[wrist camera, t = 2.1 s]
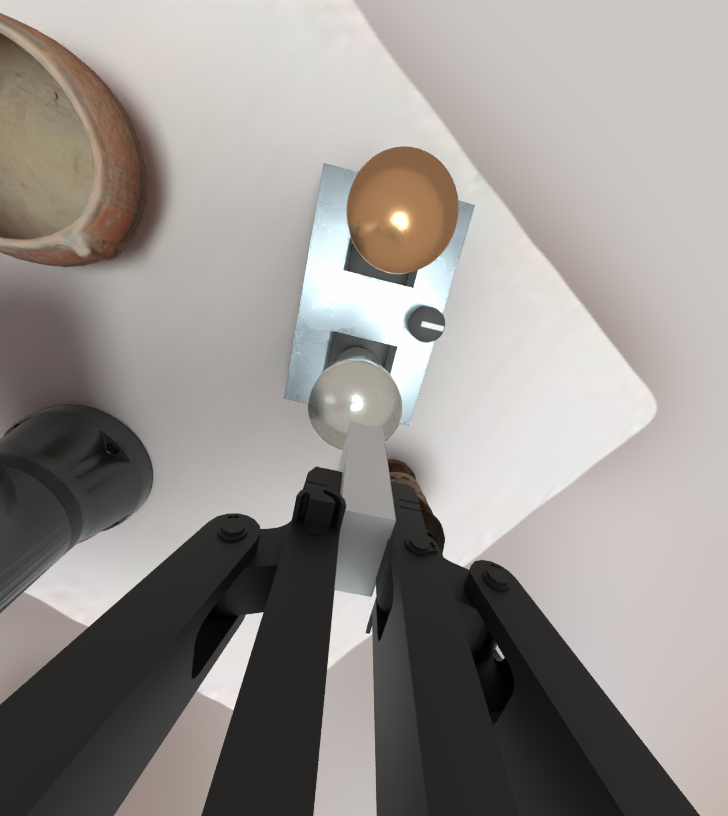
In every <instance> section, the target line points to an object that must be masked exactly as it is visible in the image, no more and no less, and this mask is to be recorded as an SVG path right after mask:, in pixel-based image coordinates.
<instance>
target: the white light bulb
mask: <svg viewBox="0 0 728 816" xmlns="http://www.w3.org/2000/svg"><path fill="white" fill-rule="evenodd" d="M308 411H309V417H310V420H311V423H312V425H313V427H314V429H315V430H316V432H317V433H318V434H319V436H320V437H321V438H322V439H323V440H325V441H326V442H327V443H329V444H330V445H332V446H334V447H336V448H339V449H342V450H343V449H344V445H345V441H346V436H347V432H348V428H349V424H350V421H353V422H357V423H362V424H366V425H371V426H376V427H380V428H383V433H384V440H385V441H386V440H387V439H389V438H390V436H391V435H392V434H393V433H394V431H395V430H396V428H397V427H398V425H399V422H400V419H401V415H402V399H401V395H400V392H399V389H398V387H397V384H396V382H395V380H394V379H393V377H392V376H391V375H390V374H389V373H388V371H386V370H385V369H384V368H383V367H381V365H380V362H379V360H378V358H377V357H376V356H375V355H374V354H373V353H372V352H371V351H369V350H367V349H364V348H360V347H354V348H349V349H347V350H345V351H343V352H342V353H340V354H339V355H338V357H337V358H336V360H335V362H334V364H333V365H331V366H329V367H328V368H327V369H325V370H324V371H323V372H322V373H321V375H320V376H319V377H318V379H317V380H316V382H315V384H314V386H313V388H312V390H311V393H310V397H309V402H308Z"/></svg>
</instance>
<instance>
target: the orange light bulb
mask: <svg viewBox="0 0 728 816" xmlns="http://www.w3.org/2000/svg"><path fill="white" fill-rule="evenodd" d="M458 212H459V207H458V195H457V191H456V187H455V184H454V182H453V179H452V177H451V176H450V174H449V172H448V171H447V169H446V168H445V166H444V165H443V164H442V163H441V162H440V161H439V160H438V159H437V158H435V157H434V156H433V155H431V154H429V153H428V152H426V151H423V150H421V149H418V148H413V147H395V148H391V149H388V150H385V151H383V152H381V153H379V154H377V155H376V156H374V157H373V158H372V159H370V160H369V161H368V162H367V163H366V164H365V165H364V166H363V167H362V169H361V170H360V171H359V173H358V174H357V176H356V178H355V180H354V181H353V184H352V186H351V189H350V192H349V196H348V201H347V223H348V228H349V233H350V236H351V239H352V242H353V244H354V246H355V248H356V249H357V251H358V253H359V254H360V255H361V256H362V258H363V259H364V260H365V261H366V262H368V263H369V264H370V265H372V266H373V267H374V268H376V269H378V270H380V271H383V272H386V273H391V274H406V273H410V272H414V271H417V270H419V269H422V268H424V267H426V266H427V265H429V264H431V263H432V262H433V261H435V260H436V259H437V258H438V257H439V256H440V255H441V254H442V253H443V251H444V250H445V249H446V247H447V246H448V244H449V243H450V241H451V239H452V237H453V234H454V231H455V228H456V225H457V220H458Z"/></svg>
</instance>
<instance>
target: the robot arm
mask: <svg viewBox="0 0 728 816" xmlns="http://www.w3.org/2000/svg"><path fill="white" fill-rule="evenodd" d="M151 486H152V468H151V463H150V460H149V457H148V455H147V453H146V451H145V449H144V447H143V446H142V444H141V443H140V441H139V440H138V439H137V437H136V436H135V435H134V434H133V433H132V432H131V431H130V430H129V429H128V428H127V427H126V426H124V425H123V424H122V423H121V422H119V421H118V420H116V419H115V418H113V417H111V416H109V415H107V414H105V413H103V412H101V411H98V410H96V409H92V408H89V407H85V406H78V405H59V406H54V407H50V408H47V409H44V410H42V411H39V412H36V413H34V414H31V415H29V416H27V417H25V418H23V419H21V420H20V421H18V422H17V423H15V424H14V425H13V426H12V427H11V428H10V429H9V430H8V431H7V432H6V433H5V435H4V436H3V438H1V439H0V613H1V612H2V611H3V610H4V609H5V608H7V607H8V606H9V605H10V604H11V603H12V602H13V601H14V600H15V599H16V598H17V597H19V596H20V595H21V594H22V593H23V592H24V591H25V590H26V589H27V588H28V587H29V586H31V585H32V584H33V583H34V582H35V581H36V580H37V579H38V578H39V577H40V576H41V575H43V574H44V573H45V572H46V571H47V570H48V569H49V568H50V567H51V566H52V565H53V564H54V563H56V562H57V561H58V560H59V559H60V558H61V557H62V556H63V555H64V554H65V553H67V552H68V551H69V550H70V549H71V548H72V547H73V546H74V545H76V544H79V543H81V542H83V541H85V540H87V539H89V538H91V537H93V536H95V535H96V534H98V533H99V532H101V531H105V530H108V529H111V528H113V527H115V526H117V525H119V524H121V523H122V522H124V521H125V520H126V519H128V518H129V517H130V516H131V515H132V514H133V513H134V512H135V511H136V510H137V509H138V508H139V507H140V506H141V505H142V504H143V503H144V502H145V500H146V499H147V497H148V495H149V493H150V490H151ZM375 585H376V594H377V597H376V600H375V603H374V606H373V609H372V612H371V615H370V618H369V622H368V625H367V629H366V633H369V634H370V631H371V628H372V631H373V674H374V717H375V755H376V756H375V757H376V758H375V759H376V801H377V816H700V815H699V814H698V813H697V812H696V810H695V809H694V807H693V806H692V805H691V804H690V802H689V801H688V800H687V798H686V797H685V796H684V795H683V793H682V792H681V791H680V789H679V788H678V787H677V785H676V784H675V783H674V782H673V780H672V779H671V778H670V776H669V775H668V774H667V773H666V771H665V770H664V769H663V767H662V766H661V765H660V764H659V762H658V761H657V760H656V758H655V757H654V756H653V755H652V753H651V752H650V751H649V749H648V748H647V747H646V746H645V744H644V743H643V742H642V740H641V739H640V738H639V737H638V735H637V734H636V733H635V731H634V730H633V729H632V727H631V726H630V725H629V724H628V722H627V721H626V720H625V718H624V717H623V716H622V715H621V714H620V712H619V711H618V709H617V708H616V707H615V705H614V704H613V703H612V702H611V700H610V699H609V698H608V696H607V695H606V694H605V693H604V691H603V690H602V689H601V688H600V686H599V685H598V684H597V682H596V681H595V680H594V678H593V677H592V676H591V675H590V673H589V672H588V671H587V669H586V668H585V667H584V666H583V664H582V663H581V662H580V660H579V659H578V658H577V656H576V655H575V654H574V653H573V651H572V650H571V649H570V648H569V646H568V645H567V644H566V642H565V641H564V640H563V638H562V637H561V636H560V635H559V633H558V632H557V631H556V629H555V628H554V627H553V626H552V624H551V623H550V622H549V620H548V619H547V618H546V617H545V615H544V614H543V613H542V611H541V610H540V609H539V607H538V606H537V605H536V604H535V602H534V601H533V600H532V598H531V597H530V596H529V595H528V594H527V592H526V591H525V590H524V589H523V587H522V586H521V584H520V583H519V582H518V581H517V579H516V578H515V577H514V576H513V575H512V574H511V573H510V572H509V571H508V570H506V569H504V568H503V567H502V566H500V565H498V564H496V563H493V562H491V561H485V560H480V561H475V562H474V563H473V564H472V565H471V567H470V569H469V570H468V569H465V568H463V567H461V566H459V565H457V564H454V563H452V562H450V561H448V560H446V559H445V558H444V557H443V555H442V551H441V549H440V547H439V546H438V544H437V543H436V542H435V541H434V540H433V539H432V538H431V537H429V536H428V535H427V531H426V527H425V523H424V520H423V516H422V512H421V508H420V505H419V501H418V497H417V494H416V492H415V491H414V490H413V489H412V488H411V486H410V485H407V484H402V483H397V482H392V481H390V475H389V468H388V461H387V454H386V447H385V440H384V433H383V428H380V427H376V426H371V425H366V424H362V423H357V422H353V421H350V424H349V428H348V432H347V436H346V441H345V445H344V449H343V453H342V457H341V461H340V466H339V470H338V471H335V470H330V469H325V468H320V467H315V468H314V469H312V470H311V471H310V472H308V475H307V478H306V482H305V485H304V488H303V490H301V491H300V492H299V493H298V495H297V497H296V502H295V507H294V512H293V517H292V521H290V522H289V523H288V524H286V525H284V526H281V527H278V528H272V529H260V526H259V525H258V523H257V522H256V521H255V520H254V519H252V518H251V517H249V516H247V515H242V514H225V515H221V516H217V517H216V518H214V519H212V520H211V521H209V522H208V523H207V524H206V525H204V526H203V527H202V528H201V529H200V530H199V531H198V532H196V533H195V534H194V535H193V536H192V537H191V538H190V539H188V540H187V541H186V542H185V543H184V544H183V545H182V546H181V547H179V548H178V549H177V550H176V551H175V552H174V553H173V554H171V555H170V556H169V557H168V558H167V559H166V560H165V561H163V562H162V563H161V564H160V565H159V566H158V567H157V568H155V569H154V570H153V571H152V572H151V573H150V574H149V575H147V576H146V577H145V578H144V579H143V580H142V581H141V582H140V583H138V584H137V585H136V586H135V587H134V588H133V589H132V590H130V591H129V592H128V593H127V594H126V595H125V596H124V597H122V598H121V599H120V600H119V601H118V602H117V603H116V604H114V605H113V606H112V607H111V608H110V609H109V610H108V611H106V612H105V613H104V614H103V615H102V616H101V617H100V618H99V619H97V620H96V621H95V622H94V623H93V624H92V625H91V626H89V627H88V628H87V629H86V630H85V631H84V632H83V633H82V634H80V635H79V636H78V637H77V638H76V639H75V640H74V641H72V642H71V643H70V644H69V645H68V646H67V647H66V648H64V649H63V650H62V651H61V652H60V653H59V654H58V655H56V657H54V658H53V659H52V660H51V661H50V662H48V663H47V664H46V665H45V666H44V667H43V668H42V669H40V670H39V671H38V672H37V673H36V674H35V675H34V676H32V677H31V678H30V679H29V680H28V681H27V682H26V683H25V684H23V685H22V686H21V687H20V688H19V689H18V690H17V691H15V692H14V693H13V694H12V695H11V696H10V697H9V698H8V699H6V700H5V701H4V702H3V703H2V704H1V705H0V816H114V814H115V813H116V811H117V810H118V808H119V807H120V805H121V804H122V802H123V801H124V799H125V798H126V796H127V795H128V793H129V792H130V790H131V789H132V787H133V786H134V784H135V783H136V781H137V780H138V778H139V777H140V775H141V774H142V772H143V771H144V769H145V768H146V766H147V765H148V763H149V762H150V760H151V759H152V757H153V756H154V754H155V753H156V751H157V750H158V748H159V747H160V745H161V744H162V742H163V740H164V739H165V738H166V736H167V735H168V733H169V731H170V730H171V728H172V727H173V725H174V724H175V722H176V721H177V719H178V718H179V716H180V715H181V713H182V712H183V710H184V709H185V707H186V706H187V704H188V703H189V701H190V700H191V698H192V697H193V695H194V694H195V692H196V691H197V689H198V688H199V686H200V685H201V683H202V682H203V680H204V679H205V677H206V676H207V674H208V673H209V671H210V670H211V668H212V667H213V665H214V664H215V662H216V661H217V659H218V658H219V656H220V655H221V653H222V652H223V650H224V649H225V647H226V646H227V644H228V643H229V641H230V640H231V638H232V637H233V635H234V634H235V632H236V630H237V629H238V627H239V626H240V624H241V623H242V621H243V620H244V618H245V615H246V614H253V613H260V612H264V613H263V616H262V620H261V623H260V626H259V629H258V633H257V636H256V639H255V642H254V646H253V649H252V652H251V656H250V659H249V662H248V665H247V669H246V672H245V675H244V678H243V682H242V685H241V688H240V691H239V695H238V698H237V701H236V704H235V708H234V711H233V715H232V718H231V721H230V724H229V728H228V731H227V734H226V737H225V740H224V744H223V747H222V750H221V754H220V757H219V760H218V763H217V766H216V770H215V773H214V776H213V780H212V783H211V786H210V789H209V792H208V796H207V799H206V802H205V806H204V809H203V813H202V815H201V816H313V811H314V801H315V791H316V781H317V770H318V759H319V748H320V737H321V727H322V716H323V706H324V695H325V685H326V674H327V663H328V653H329V642H330V631H331V621H332V610H333V599H334V590H338V591H343V592H349V593H354V594H360V595H365V596H371V597H372V594H373V591H374V588H375ZM497 645H498V647H499V648H500V650H501V652H502V653H503V655H504V657H505V658H504V659H502V658H501V657H500V655H499V654H498V652H497V651H496V649H495V648H496V646H497Z"/></svg>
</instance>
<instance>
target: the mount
mask: <svg viewBox="0 0 728 816" xmlns="http://www.w3.org/2000/svg"><path fill="white" fill-rule="evenodd" d="M357 174H358V173H357V172H354V171H350V170H347V169H343V168H340V167H336V166H332V165H329V164H325V163H324V166H323V171H322V177H321V183H320V189H319V195H318V201H317V207H316V212H315V218H314V224H313V230H312V236H311V242H310V248H309V254H308V259H307V265H306V271H305V277H304V283H303V289H302V295H301V301H300V306H299V312H298V318H297V324H296V330H295V336H294V342H293V348H292V353H291V359H290V365H289V371H288V377H287V383H286V389H285V394H284V398H285V399H289V400H294V401H298V402H303V403H308V402H309V397H310V393H311V390H312V388H313V386H314V384H315V382H316V380H317V379H318V377H319V376H320V375H321V373H322V372H323V371H324V370H325V369H327V364H328V359H329V354H330V350H331V345H332V340H333V335H334V331H335V332H339V333H343V334H347V335H351V336H356V337H360V338H364V339H368V340H372V341H377V342H381V343H385V344H389V345H390V347H389V351H388V355H387V359H386V363H385V367H384V369H385V370H386V371H388V373H389V374H390V375H391V376H392V377H393V379H394V380H395V382H396V384H397V387H398V389H399V392H400V395H401V399H402V415H401V419H400V422H399V424H403V425H408V426H409V424H410V421H411V418H412V414H413V411H414V408H415V404H416V401H417V397H418V394H419V391H420V387H421V384H422V381H423V377H424V374H425V371H426V367H427V364H428V361H429V357H430V354H431V351H432V347H433V344H434V341H433V342H429V343H424V342H420V341H418V340H417V339H415V338H414V337H413V336H412V335H411V334H410V333H409V332H408V330H407V327H406V318H407V316H408V314H409V312H410V311H411V310H412V309H413V308H415V307H417V306H421V305H425V306H430V307H434V308H436V309H438V310H439V311H440V312H441V313H442V314H443V310H444V307H445V304H446V300H447V297H448V294H449V290H450V287H451V284H452V280H453V277H454V274H455V270H456V267H457V264H458V260H459V257H460V253H461V250H462V247H463V243H464V240H465V237H466V233H467V230H468V227H469V223H470V220H471V217H472V213H473V210H474V207H475V205H472V204H469V203H465V202H462V201H458V207H459V212H458V220H457V225H456V228H455V231H454V234H453V237H452V239H451V241H450V243H449V244H448V246H447V247H446V249H445V250H444V251H443V253H442V254H441V255H440V256H439V257H438V258H437V259H436V260H435V261H433V262H432V263H431V264H429V265H427V266H426V267H424V268H422V269H419V270H417V271H414V272H410V273H409V274H408V278H407V282H406V285H405V286H403V285H399V284H395V283H391V282H387V281H383V280H379V279H375V278H371V277H367V276H364V275H360V274H356V273H352V272H348V271H347V267H348V262H349V257H350V252H351V247H352V239H351V236H350V233H349V228H348V223H347V201H348V196H349V192H350V189H351V186H352V184H353V181H354V180H355V178H356V176H357Z"/></svg>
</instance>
